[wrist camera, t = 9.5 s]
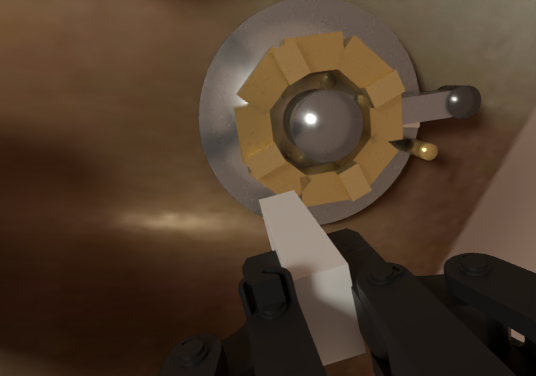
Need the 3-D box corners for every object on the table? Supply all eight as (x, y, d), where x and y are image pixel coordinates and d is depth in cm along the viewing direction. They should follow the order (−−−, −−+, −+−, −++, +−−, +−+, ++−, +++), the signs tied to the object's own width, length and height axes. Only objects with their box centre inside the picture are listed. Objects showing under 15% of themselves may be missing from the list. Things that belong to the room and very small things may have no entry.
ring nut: (248, 205, 38) (252, 220, 34) (224, 49, 34) (224, 45, 30) (458, 170, 40) (485, 180, 36) (460, 18, 35) (491, 9, 31)
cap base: (232, 241, 41) (234, 275, 34) (171, 31, 35) (158, 18, 28) (421, 190, 42) (462, 212, 35) (396, -23, 36) (439, -49, 29)
